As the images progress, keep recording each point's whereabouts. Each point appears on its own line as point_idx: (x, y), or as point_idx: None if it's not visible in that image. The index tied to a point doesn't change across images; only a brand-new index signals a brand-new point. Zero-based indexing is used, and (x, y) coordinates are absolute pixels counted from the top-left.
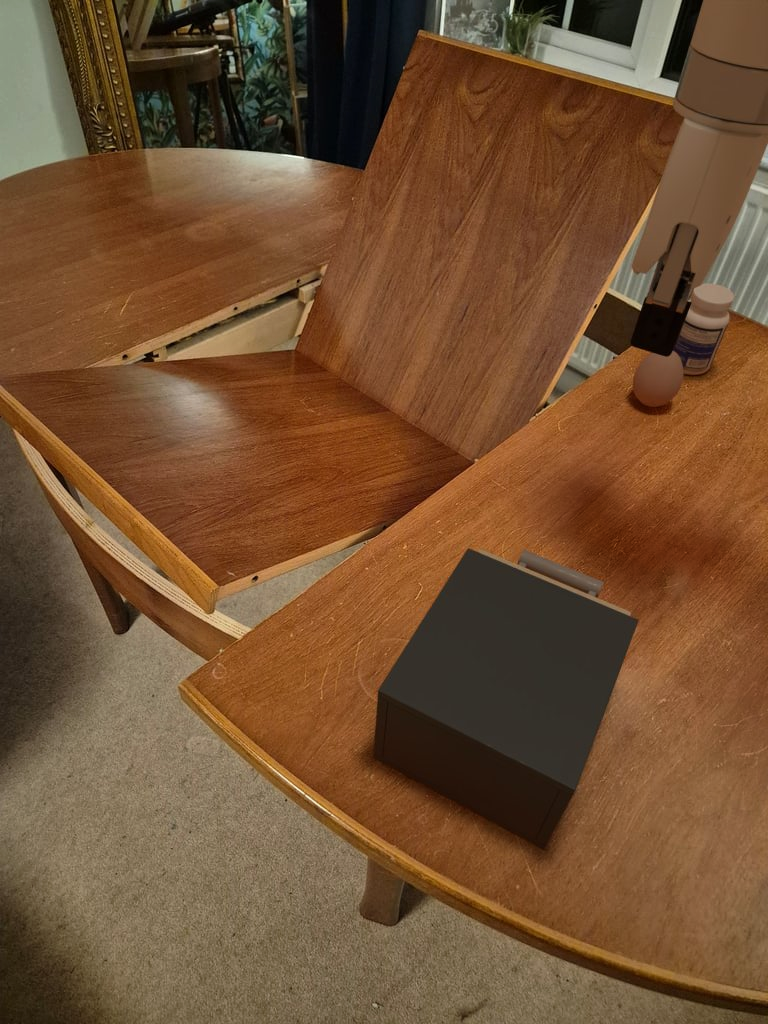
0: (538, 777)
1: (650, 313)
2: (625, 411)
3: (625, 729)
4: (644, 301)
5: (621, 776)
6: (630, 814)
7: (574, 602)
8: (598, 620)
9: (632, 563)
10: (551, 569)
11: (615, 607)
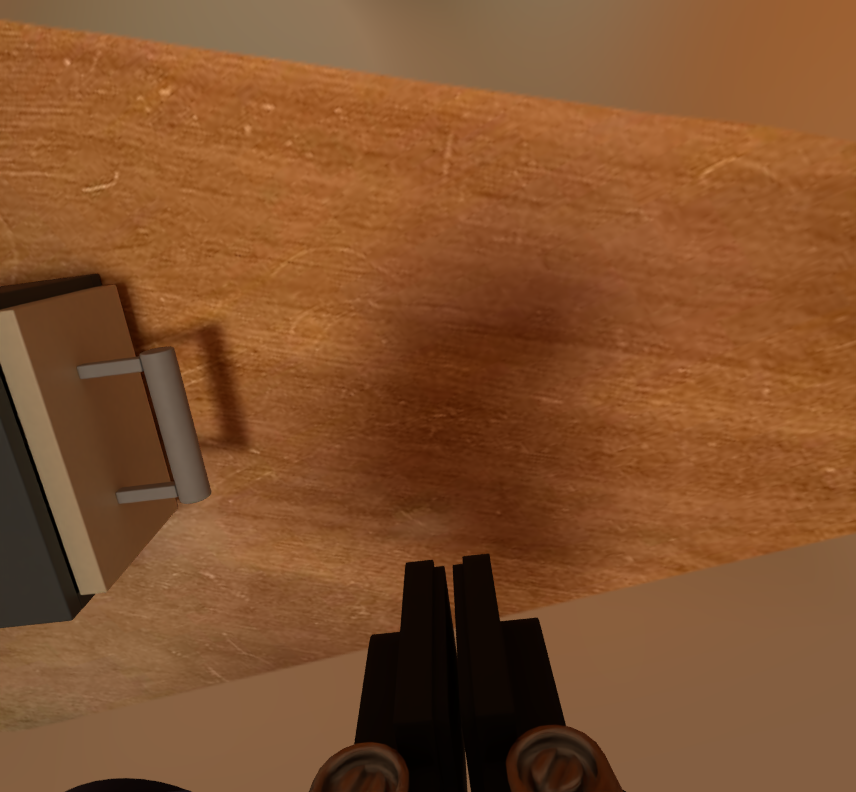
0: None
1: (355, 742)
2: (852, 271)
3: None
4: (396, 717)
5: None
6: None
7: (14, 527)
8: (16, 572)
9: (418, 454)
10: (159, 416)
11: (93, 570)
